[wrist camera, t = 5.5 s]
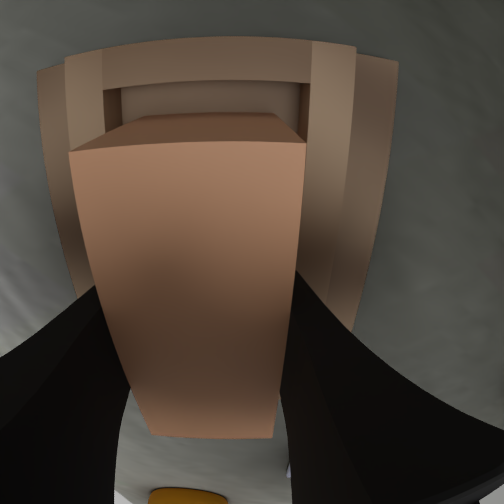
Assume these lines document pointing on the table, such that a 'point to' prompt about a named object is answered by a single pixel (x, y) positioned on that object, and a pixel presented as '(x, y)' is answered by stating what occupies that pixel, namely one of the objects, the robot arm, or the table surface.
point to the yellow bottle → (184, 497)
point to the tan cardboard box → (196, 262)
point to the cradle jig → (242, 100)
